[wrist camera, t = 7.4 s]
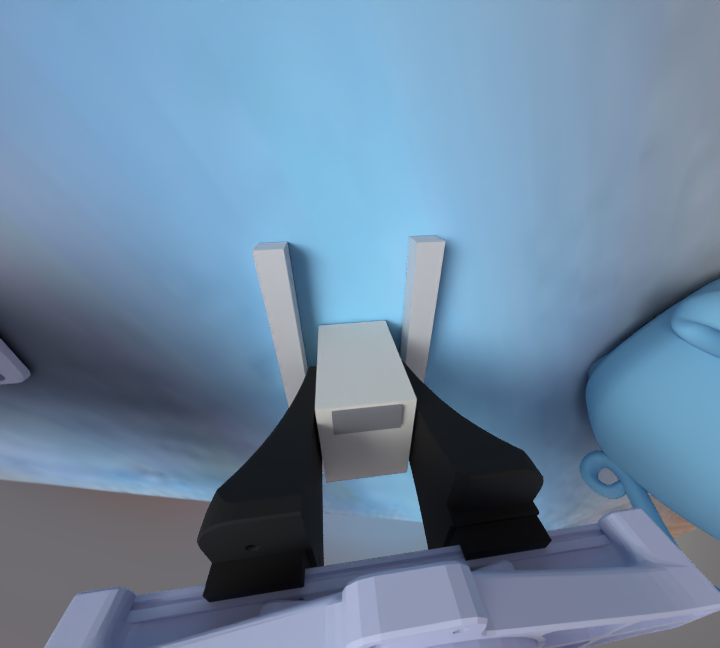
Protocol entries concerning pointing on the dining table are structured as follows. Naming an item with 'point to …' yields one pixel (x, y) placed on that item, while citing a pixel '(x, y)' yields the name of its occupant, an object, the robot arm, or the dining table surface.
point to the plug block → (362, 402)
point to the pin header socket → (286, 320)
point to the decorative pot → (662, 414)
